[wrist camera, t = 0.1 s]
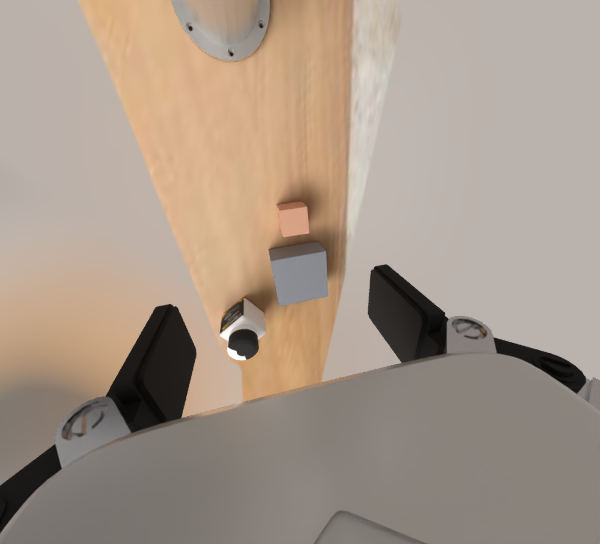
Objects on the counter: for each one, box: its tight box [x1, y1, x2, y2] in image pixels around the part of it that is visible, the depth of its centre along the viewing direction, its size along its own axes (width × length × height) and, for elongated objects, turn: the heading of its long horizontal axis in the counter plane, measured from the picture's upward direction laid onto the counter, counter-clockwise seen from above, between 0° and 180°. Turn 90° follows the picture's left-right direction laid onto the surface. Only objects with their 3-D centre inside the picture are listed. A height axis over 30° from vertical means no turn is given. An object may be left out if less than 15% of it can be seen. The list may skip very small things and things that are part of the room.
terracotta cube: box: [277, 201, 309, 237], centre depth 44 cm, size 5×5×5 cm
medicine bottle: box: [220, 297, 266, 360], centre depth 50 cm, size 7×7×12 cm
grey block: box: [268, 241, 328, 306], centre depth 50 cm, size 11×11×6 cm
